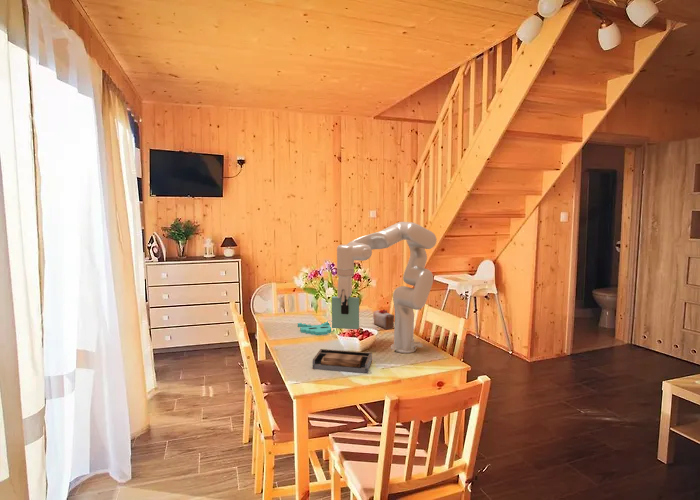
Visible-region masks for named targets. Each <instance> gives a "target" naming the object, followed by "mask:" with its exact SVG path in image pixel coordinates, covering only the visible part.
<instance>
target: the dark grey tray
mask: <svg viewBox="0 0 700 500" xmlns="http://www.w3.org/2000/svg"><path fill="white" fill-rule="evenodd" d="M327 353H338V354H349V355H360V356H362V361H361V367H349V366H337V365H325V364H321V360H322V358H323V356H325V355H326V354H327ZM372 361H373V353H372V352H365V351H353V350H352V351H351V350H340V349H339V350H338V349H327V348H326V349H325V348H320V349H319V351H318V352H317V353H316V355H315V356H314V357H313V358H312V370H319V371H321V370H322V371H332V372H333V371H334V372H345V373H357V374H358V373H359V374H368V373H369V370H370V368H371V364H372Z"/></svg>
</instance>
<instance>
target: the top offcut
mask: <svg viewBox="0 0 700 500" xmlns="http://www.w3.org/2000/svg"><path fill="white" fill-rule="evenodd" d="M324 361H330V362H341V363H352V364H360V363H361V361H362V356H360V355H349V354H338V353H327V354H326V355H325V356H324Z"/></svg>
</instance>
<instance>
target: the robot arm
mask: <svg viewBox="0 0 700 500" xmlns="http://www.w3.org/2000/svg"><path fill="white" fill-rule="evenodd" d="M404 240H406V243H407V246H408V248H409V253H410V255H409V258H408V261H407V264H406V267H405V269H404V273H403V276H402V280H403V282H404V284H407V285H410V286H413V287H408V286H404V285H401V286H398V287H396V288H395V289H394V290H393V293H392V294H393V295H392V300H393V304H394V305H393V308H394V327H393V329H394V331H393V332H394V333H393V335H394V336H393V343H392V344H391V345H390V349H391V350H393V351H394V352H396V353H401V354H410V353H414V352H416V350H417V348H423V343H421V342H420V341H419V342H418V341H415V338H414V333H415V332H414V329H415V328H414V327H415V323H414V322H415V312H414V310H416V311H417V310H418V311H419V310H421V309H423V308H424V306H425V305H426V303H427V301H428V298H429V295H430V292H431V289H432V288H433V287H432V286H433V283H434V274H433V272H432V271H431V270H430V269H428V268H426V267H425V266H426V265H427V260H428V254H427V250H430V249H433V248H434V247H435V246H436V244H437V237H436V234H435V233H434V232H433V231H431V230H429V229H427V228H425V227H424V226H422V225H421V224H418V223H415V222H411V221H398V222H396V223H394V224H392V225H389V226H388V227H386V228H383V229H380V230H379V231H377V232H372V233H369V234H366V235H363V236H359V237H358V238H355V239H353V240H351V241H349V242H348V243H347V244H346V243H345V244H339V245H337V246H336V276H337V277H338V279H337V297H338V299H340V298H341V314H348V313H349V305H348V298H349V297H352V293H353V277H354V276H355V261H361V262H362V261H363V262H364V261H367V260H369V259H370V258H371V257H372V254H373V250H383V249H387V248H390V247H391V246H393V245H395V244H397V243H399V242H401V241H404ZM345 297H346V298H345Z"/></svg>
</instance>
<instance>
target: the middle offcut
mask: <svg viewBox="0 0 700 500" xmlns="http://www.w3.org/2000/svg"><path fill="white" fill-rule="evenodd" d="M321 364H325V365H337V366H350V367H358V364H352V363H341V362H330V361H324V356H323V358H322V360H321Z"/></svg>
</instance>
